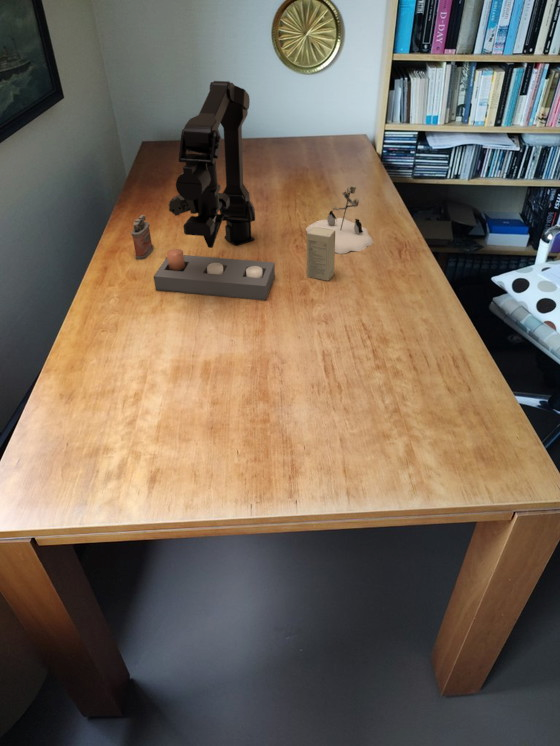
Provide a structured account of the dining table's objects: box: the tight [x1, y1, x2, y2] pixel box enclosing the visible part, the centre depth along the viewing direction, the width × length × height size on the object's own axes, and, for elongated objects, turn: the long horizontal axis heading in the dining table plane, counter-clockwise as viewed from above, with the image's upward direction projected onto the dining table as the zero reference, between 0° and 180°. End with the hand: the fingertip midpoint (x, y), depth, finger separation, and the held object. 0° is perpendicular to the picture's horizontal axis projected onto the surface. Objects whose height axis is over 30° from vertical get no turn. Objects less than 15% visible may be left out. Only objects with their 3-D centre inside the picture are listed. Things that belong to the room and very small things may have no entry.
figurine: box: [305, 184, 374, 255], centre depth 154 cm, size 20×18×16 cm
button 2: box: [246, 266, 263, 278], centre depth 137 cm, size 4×4×4 cm
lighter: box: [130, 214, 154, 261], centre depth 150 cm, size 8×3×10 cm, turn 168°
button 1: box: [207, 263, 224, 275], centre depth 138 cm, size 4×4×4 cm
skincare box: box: [306, 227, 336, 282], centre depth 139 cm, size 6×4×12 cm
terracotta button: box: [166, 248, 185, 271], centre depth 137 cm, size 4×4×4 cm
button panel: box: [153, 254, 276, 301], centre depth 138 cm, size 28×12×4 cm, turn 80°
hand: (210, 247), depth 133 cm, fingers closed
